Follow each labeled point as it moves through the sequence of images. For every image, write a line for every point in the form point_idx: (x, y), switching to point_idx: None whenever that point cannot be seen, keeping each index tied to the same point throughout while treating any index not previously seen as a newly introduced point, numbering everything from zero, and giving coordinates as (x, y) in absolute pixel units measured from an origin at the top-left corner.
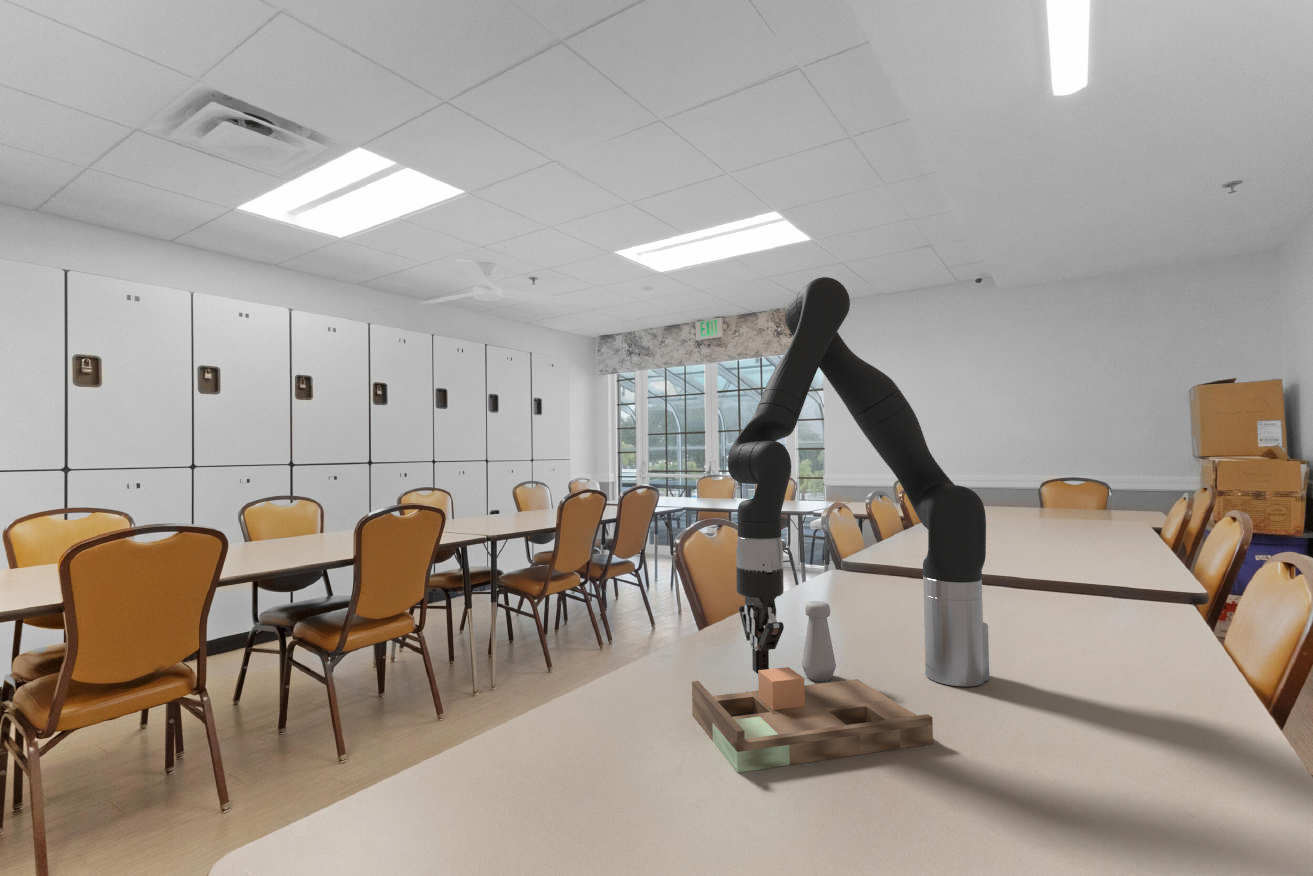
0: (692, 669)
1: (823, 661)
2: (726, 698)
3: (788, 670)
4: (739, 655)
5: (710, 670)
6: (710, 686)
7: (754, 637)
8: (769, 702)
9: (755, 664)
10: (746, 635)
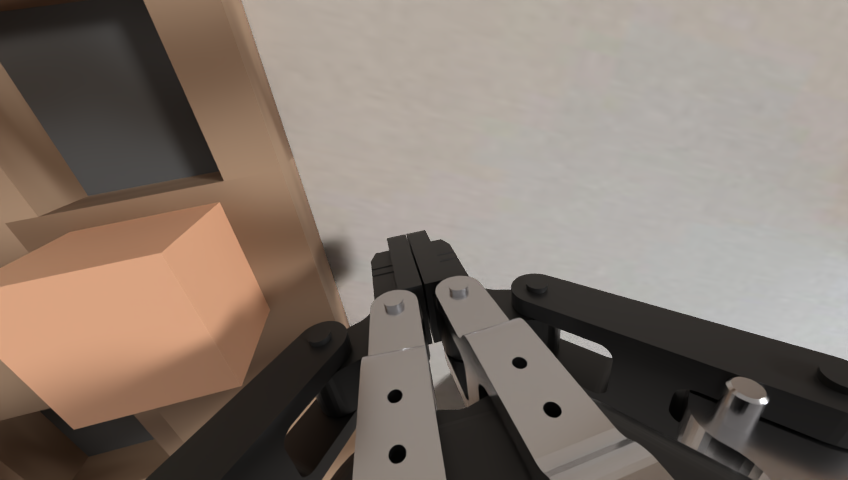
0: (705, 15)
1: None
2: (180, 45)
3: (185, 383)
4: (731, 216)
5: (665, 91)
6: (521, 53)
7: (421, 339)
8: (90, 232)
9: (394, 251)
10: (542, 289)
